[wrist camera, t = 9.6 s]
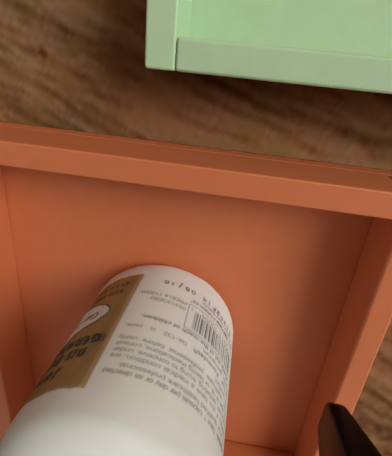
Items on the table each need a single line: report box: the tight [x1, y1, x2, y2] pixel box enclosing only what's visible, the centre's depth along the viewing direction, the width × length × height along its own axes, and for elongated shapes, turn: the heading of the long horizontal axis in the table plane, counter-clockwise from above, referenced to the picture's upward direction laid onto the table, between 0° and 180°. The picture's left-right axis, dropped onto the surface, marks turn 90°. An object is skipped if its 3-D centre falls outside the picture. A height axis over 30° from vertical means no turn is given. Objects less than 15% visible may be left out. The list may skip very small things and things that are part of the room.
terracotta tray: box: [0, 121, 392, 456], centre depth 11 cm, size 11×11×2 cm
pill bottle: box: [0, 265, 233, 456], centre depth 8 cm, size 4×4×8 cm
